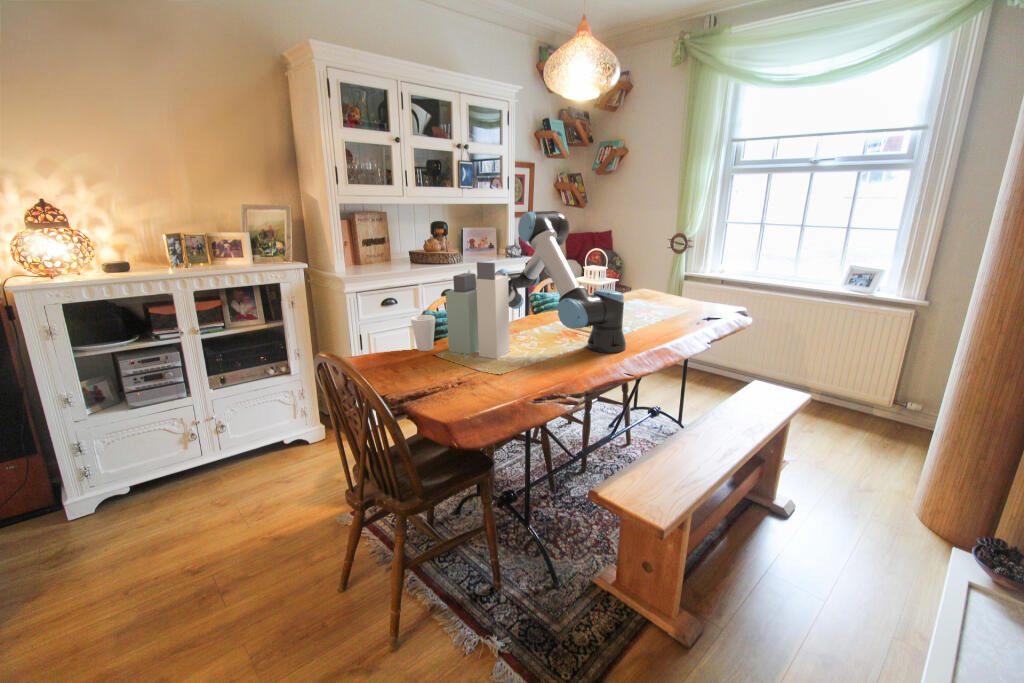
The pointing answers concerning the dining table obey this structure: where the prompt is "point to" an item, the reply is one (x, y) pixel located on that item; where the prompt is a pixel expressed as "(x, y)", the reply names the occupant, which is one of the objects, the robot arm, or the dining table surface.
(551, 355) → the dining table surface
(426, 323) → the foam cup
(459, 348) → the sage green pillar
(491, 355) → the tower
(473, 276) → the charger
